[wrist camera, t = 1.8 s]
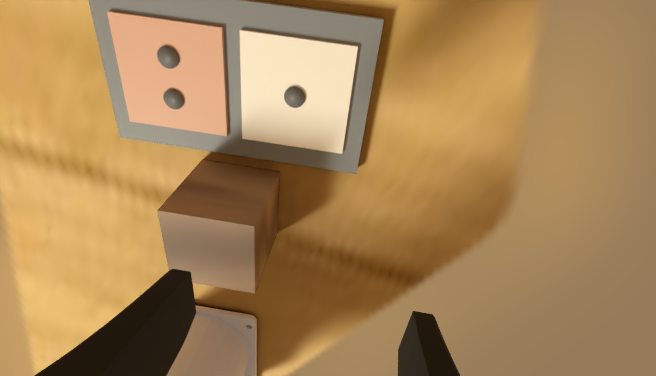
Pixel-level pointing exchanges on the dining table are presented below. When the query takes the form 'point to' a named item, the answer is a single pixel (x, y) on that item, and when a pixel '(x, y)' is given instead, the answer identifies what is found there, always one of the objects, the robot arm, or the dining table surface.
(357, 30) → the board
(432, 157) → the dining table surface
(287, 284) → the dining table surface
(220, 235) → the walnut block
